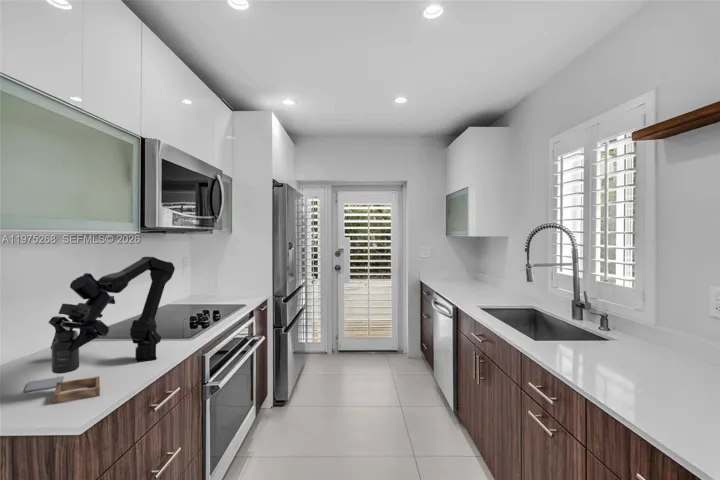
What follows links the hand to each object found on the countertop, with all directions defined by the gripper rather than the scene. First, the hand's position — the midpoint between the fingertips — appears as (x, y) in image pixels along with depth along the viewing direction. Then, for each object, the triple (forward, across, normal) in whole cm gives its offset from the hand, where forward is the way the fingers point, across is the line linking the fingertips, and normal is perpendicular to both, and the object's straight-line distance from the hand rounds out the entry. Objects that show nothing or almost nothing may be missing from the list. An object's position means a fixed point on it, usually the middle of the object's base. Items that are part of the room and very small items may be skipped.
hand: (60, 350), depth 119 cm
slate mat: (+7, -11, +12) cm, 17 cm away
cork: (-8, -27, +28) cm, 40 cm away
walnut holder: (+8, +5, +10) cm, 14 cm away
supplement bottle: (+4, 0, +6) cm, 7 cm away
